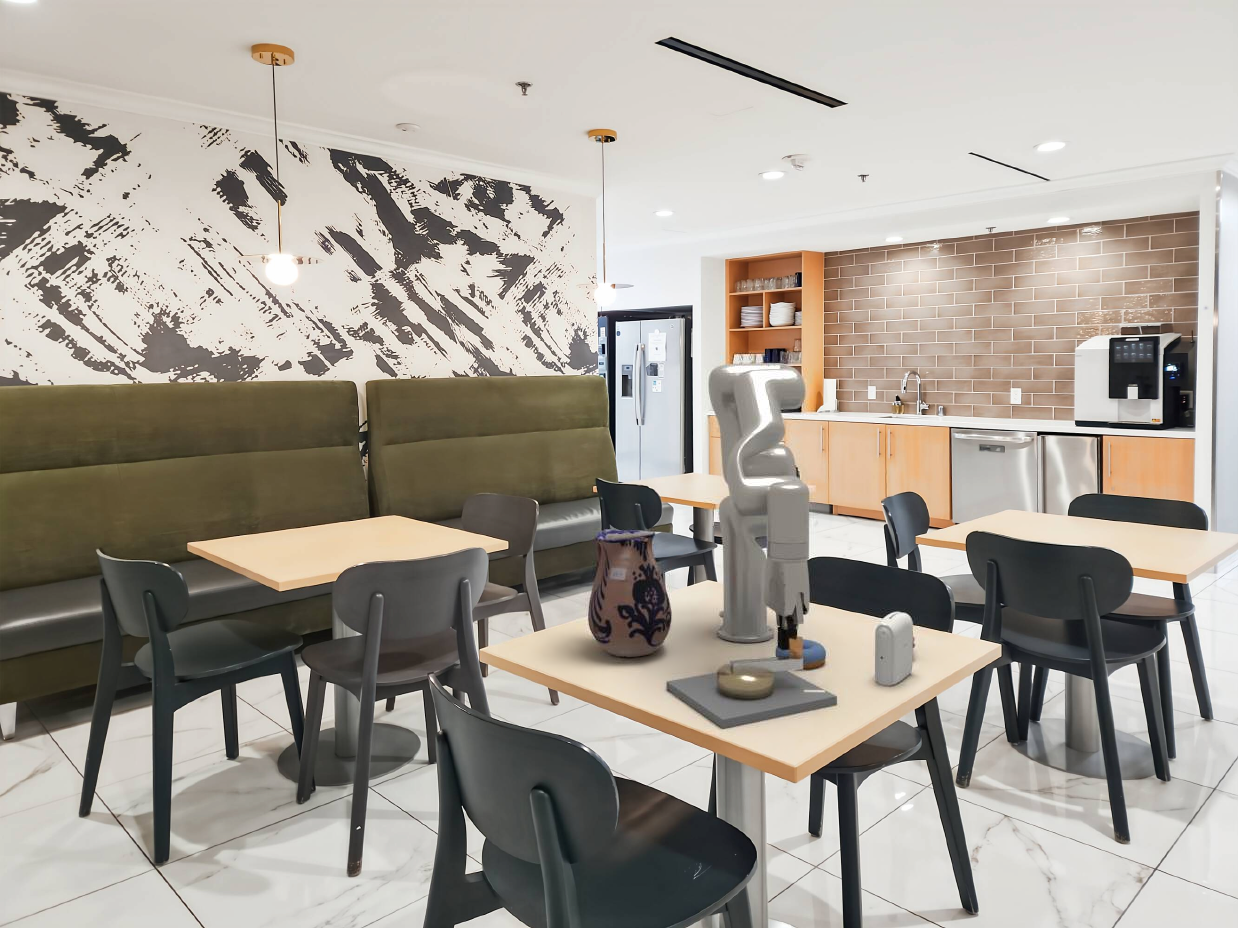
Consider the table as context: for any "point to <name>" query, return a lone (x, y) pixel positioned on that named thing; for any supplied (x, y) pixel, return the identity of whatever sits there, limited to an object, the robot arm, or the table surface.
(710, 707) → the stand
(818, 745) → the table surface
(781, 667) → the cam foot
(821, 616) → the table surface
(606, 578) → the ceramic pitcher
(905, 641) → the photo printer
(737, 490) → the robot arm
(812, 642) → the doughnut
